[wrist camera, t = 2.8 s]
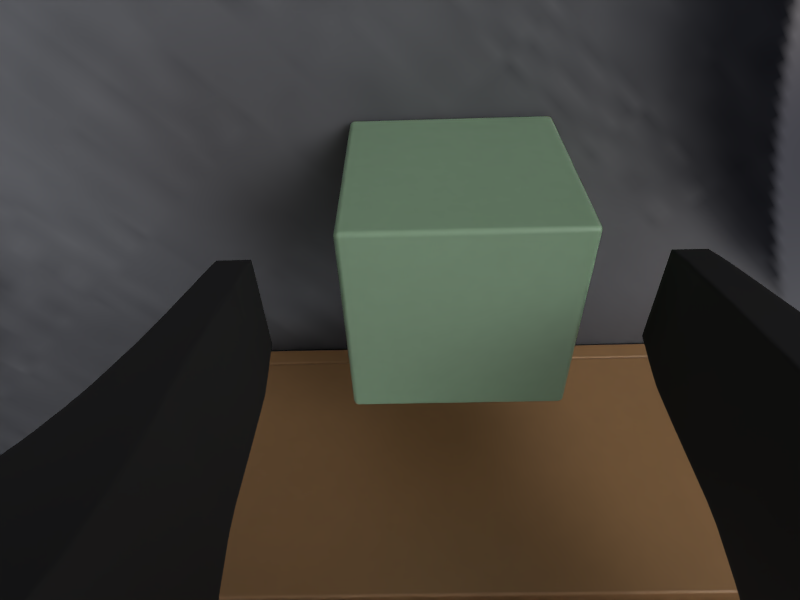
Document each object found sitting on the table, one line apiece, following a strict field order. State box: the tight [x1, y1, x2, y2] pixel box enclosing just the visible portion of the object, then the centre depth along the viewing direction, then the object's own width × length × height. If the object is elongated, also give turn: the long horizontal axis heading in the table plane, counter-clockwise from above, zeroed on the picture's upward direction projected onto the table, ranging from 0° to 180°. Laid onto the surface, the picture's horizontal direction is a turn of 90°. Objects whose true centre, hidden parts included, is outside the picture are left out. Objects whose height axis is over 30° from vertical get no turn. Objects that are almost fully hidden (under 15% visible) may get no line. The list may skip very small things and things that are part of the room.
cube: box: [333, 116, 602, 404], centre depth 11 cm, size 4×4×4 cm
